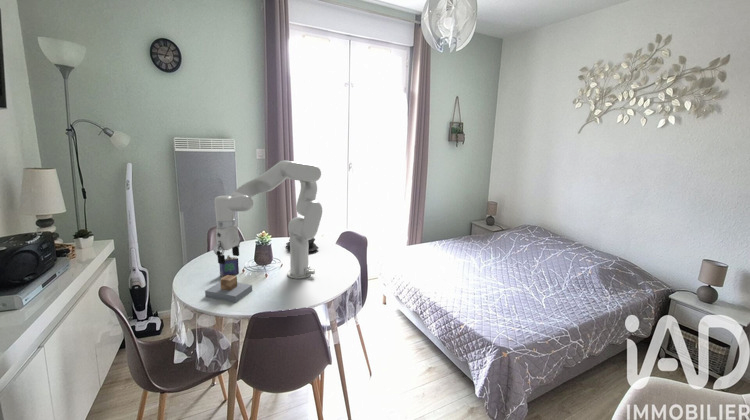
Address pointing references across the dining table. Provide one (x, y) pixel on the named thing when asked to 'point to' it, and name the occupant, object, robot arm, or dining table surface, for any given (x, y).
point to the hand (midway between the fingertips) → (229, 259)
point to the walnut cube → (228, 282)
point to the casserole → (310, 242)
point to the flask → (229, 267)
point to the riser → (228, 292)
